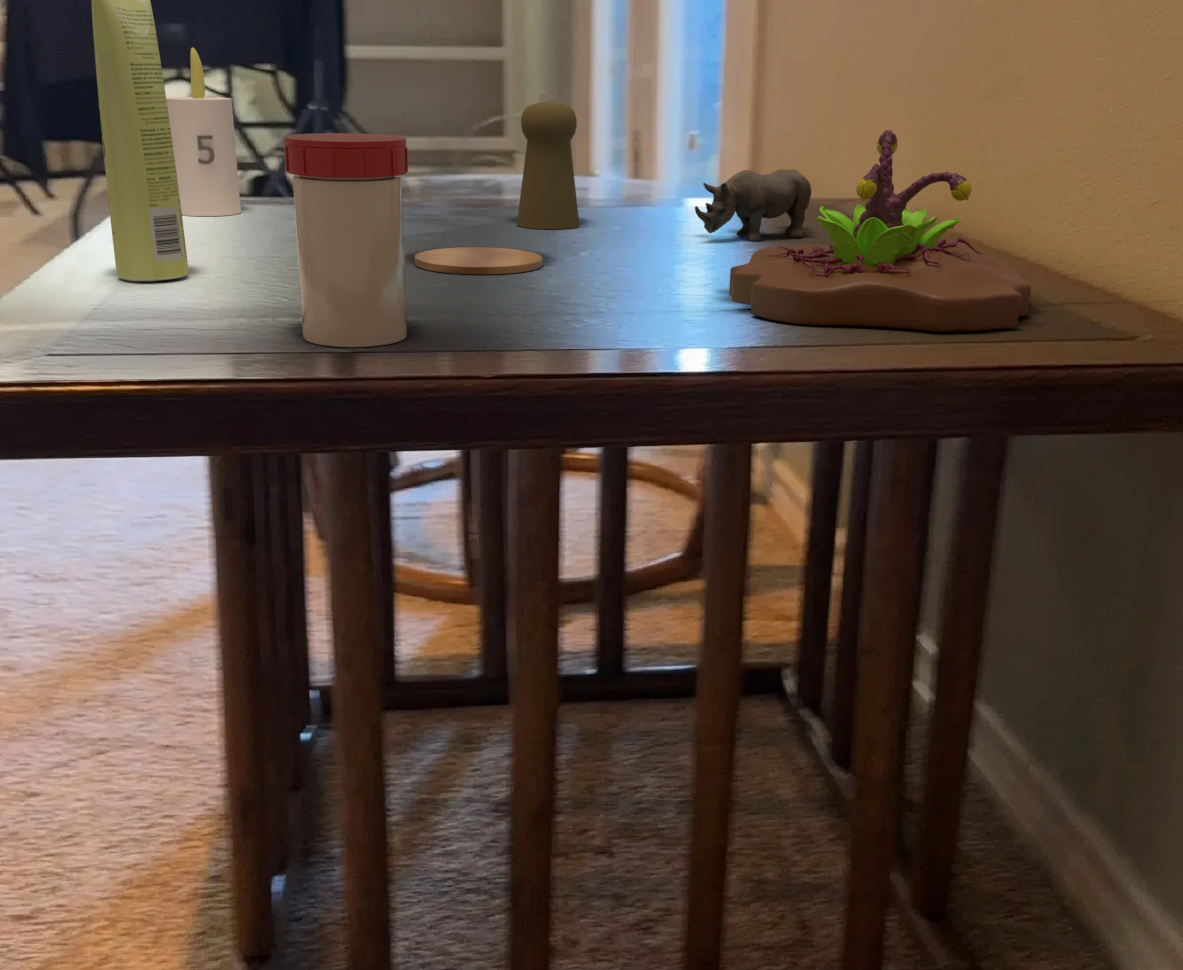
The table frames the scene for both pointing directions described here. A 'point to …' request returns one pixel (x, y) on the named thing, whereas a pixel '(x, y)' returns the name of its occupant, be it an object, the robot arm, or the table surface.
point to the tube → (137, 143)
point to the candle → (204, 149)
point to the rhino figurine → (758, 201)
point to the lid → (345, 155)
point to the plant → (884, 268)
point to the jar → (351, 260)
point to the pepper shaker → (548, 168)
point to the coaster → (478, 260)
